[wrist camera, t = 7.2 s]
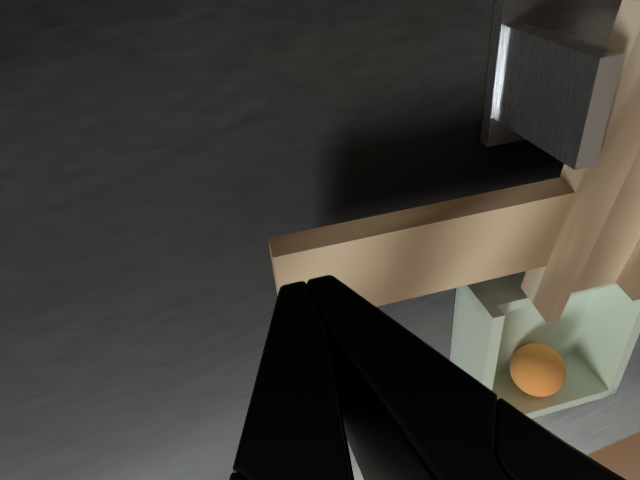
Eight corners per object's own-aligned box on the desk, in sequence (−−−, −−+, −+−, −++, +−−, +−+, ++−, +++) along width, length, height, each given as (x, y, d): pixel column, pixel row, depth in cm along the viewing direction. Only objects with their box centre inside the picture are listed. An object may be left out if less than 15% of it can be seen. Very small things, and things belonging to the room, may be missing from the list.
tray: (610, 237, 27) (662, 275, 24) (576, 351, 32) (615, 394, 29) (457, 273, 25) (493, 318, 23) (447, 386, 31) (474, 434, 28)
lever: (882, -364, 12) (1167, -421, 8) (596, 242, 25) (662, 309, 22) (165, -343, 9) (175, -412, 6) (278, 316, 23) (300, 405, 20)
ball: (548, 378, 30) (541, 332, 30) (582, 397, 27) (574, 345, 27) (504, 391, 30) (496, 343, 29) (533, 411, 27) (524, 358, 27)
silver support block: (683, -38, 19) (840, -23, 15) (640, 110, 23) (756, 160, 18) (496, -11, 18) (604, 14, 13) (480, 141, 21) (562, 203, 17)
